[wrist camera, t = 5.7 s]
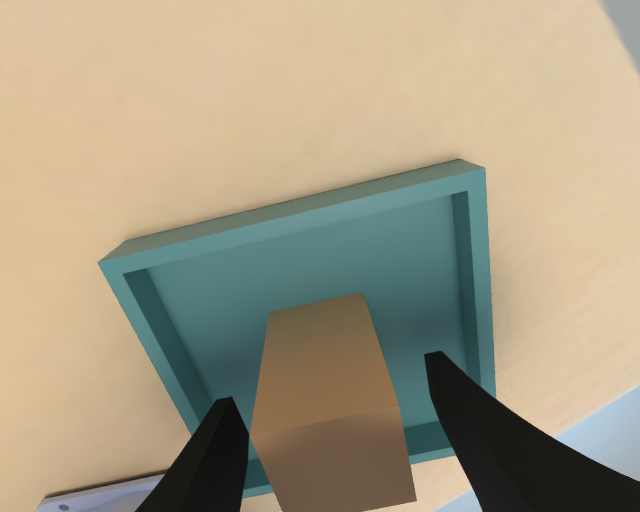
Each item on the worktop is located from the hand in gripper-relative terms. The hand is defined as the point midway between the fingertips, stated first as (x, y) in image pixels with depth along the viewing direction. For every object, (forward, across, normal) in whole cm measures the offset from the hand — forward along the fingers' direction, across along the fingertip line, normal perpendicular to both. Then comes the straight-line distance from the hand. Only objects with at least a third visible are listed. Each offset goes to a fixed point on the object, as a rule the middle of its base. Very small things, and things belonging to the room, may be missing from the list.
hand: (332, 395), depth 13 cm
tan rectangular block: (+3, 0, 0) cm, 3 cm away
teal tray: (+3, 0, 0) cm, 3 cm away
